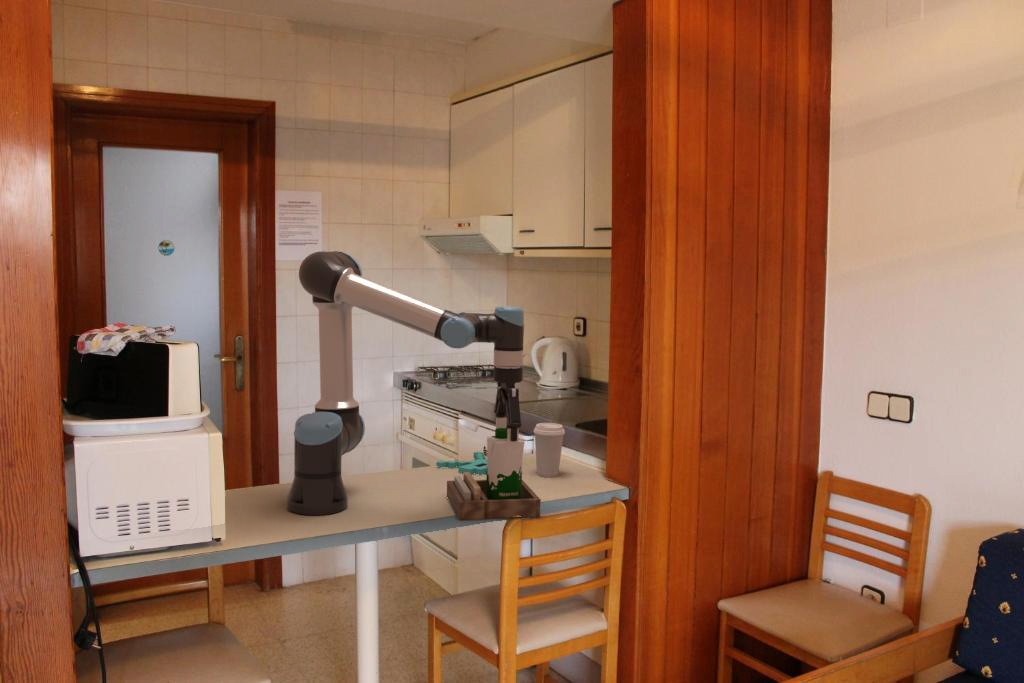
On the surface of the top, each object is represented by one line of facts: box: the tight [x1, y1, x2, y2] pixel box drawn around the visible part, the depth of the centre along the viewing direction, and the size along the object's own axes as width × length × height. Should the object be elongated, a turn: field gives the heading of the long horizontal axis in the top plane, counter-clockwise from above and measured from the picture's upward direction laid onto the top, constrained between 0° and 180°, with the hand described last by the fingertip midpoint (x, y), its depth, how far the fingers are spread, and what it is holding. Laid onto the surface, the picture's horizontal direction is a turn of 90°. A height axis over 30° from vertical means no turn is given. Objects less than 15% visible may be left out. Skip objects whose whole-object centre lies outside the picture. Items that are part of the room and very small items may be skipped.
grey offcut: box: [453, 475, 471, 501], centre depth 226 cm, size 2×16×6 cm, turn 13°
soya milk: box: [485, 428, 525, 500], centre depth 228 cm, size 9×9×20 cm
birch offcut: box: [462, 472, 481, 501], centre depth 226 cm, size 2×16×8 cm, turn 13°
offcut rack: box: [446, 479, 542, 521], centre depth 228 cm, size 21×20×4 cm
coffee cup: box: [533, 422, 566, 478], centre depth 263 cm, size 10×10×15 cm
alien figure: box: [436, 451, 487, 476], centre depth 269 cm, size 20×2×20 cm
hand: (506, 447), depth 227 cm, fingers open, 13 cm apart
